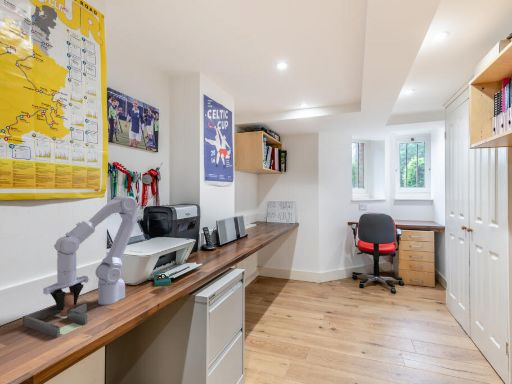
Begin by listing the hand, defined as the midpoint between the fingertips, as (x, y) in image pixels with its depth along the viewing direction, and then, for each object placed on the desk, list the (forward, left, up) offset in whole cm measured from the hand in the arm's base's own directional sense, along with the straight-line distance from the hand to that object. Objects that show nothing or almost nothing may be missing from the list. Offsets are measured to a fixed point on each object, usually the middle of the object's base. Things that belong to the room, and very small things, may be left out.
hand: (67, 307), depth 100 cm
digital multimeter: (-44, +3, -4) cm, 44 cm away
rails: (+4, +4, -3) cm, 6 cm away
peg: (0, 0, -2) cm, 2 cm away
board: (+4, +6, -3) cm, 8 cm away
